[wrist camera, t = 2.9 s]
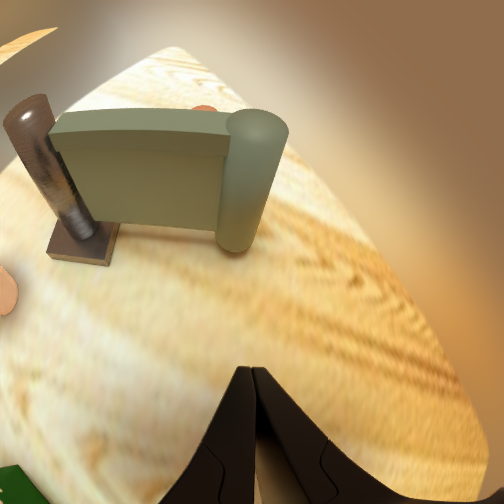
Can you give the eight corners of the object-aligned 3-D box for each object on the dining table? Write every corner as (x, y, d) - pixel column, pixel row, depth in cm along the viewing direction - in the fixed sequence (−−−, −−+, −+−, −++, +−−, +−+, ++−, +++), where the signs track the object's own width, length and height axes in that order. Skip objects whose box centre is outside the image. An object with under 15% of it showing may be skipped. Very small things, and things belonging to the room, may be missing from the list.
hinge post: (51, 258, 20) (-33, 153, 8) (71, 202, 23) (18, 88, 11) (108, 266, 21) (34, 143, 9) (125, 205, 23) (88, 74, 11)
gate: (95, 238, 20) (42, 140, 10) (106, 207, 21) (67, 106, 12) (253, 254, 21) (290, 151, 12) (254, 220, 22) (286, 113, 13)
